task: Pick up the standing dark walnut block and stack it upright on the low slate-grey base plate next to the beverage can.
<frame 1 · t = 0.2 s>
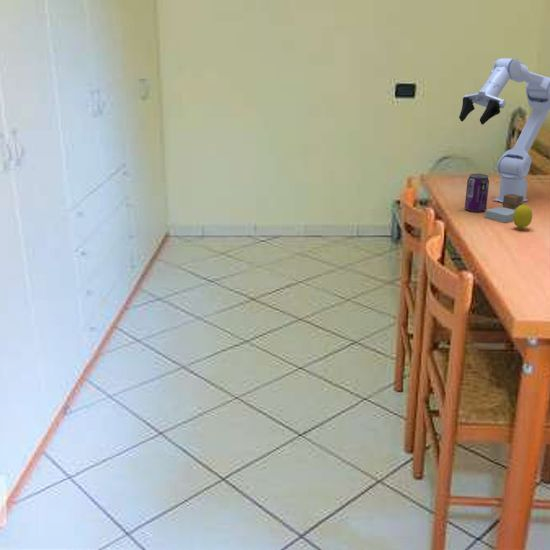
hand: (470, 120, 216), 31 cm above the table, tool tilted 45°, fingers open, 7 cm apart
grey base: (502, 218, 222), on the table
walnut block: (511, 213, 228), on the table
lemon: (520, 229, 210), on the table
beverage can: (475, 210, 232), on the table
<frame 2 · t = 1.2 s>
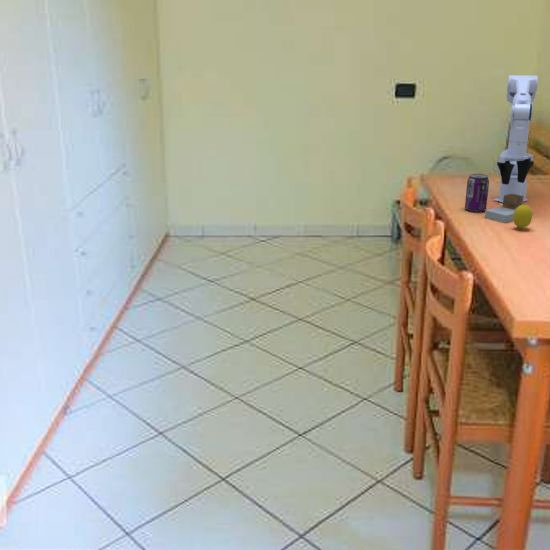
hand: (513, 183, 223), 10 cm above the table, tool pointing down, fingers open, 7 cm apart
nothing on the table moved.
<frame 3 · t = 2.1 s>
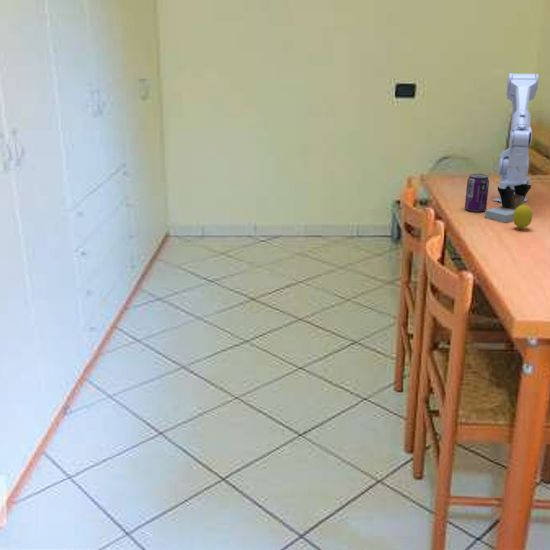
hand: (512, 207, 227), 2 cm above the table, tool pointing down, fingers open, 7 cm apart
nothing on the table moved.
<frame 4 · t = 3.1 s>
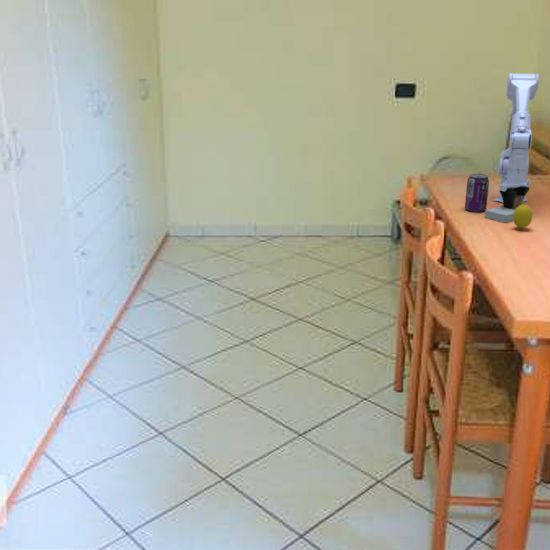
hand: (512, 208, 227), 1 cm above the table, tool pointing down, fingers closed on walnut block, 4 cm apart
walnut block: (511, 213, 228), on the table, touching gripper
everything else where it was.
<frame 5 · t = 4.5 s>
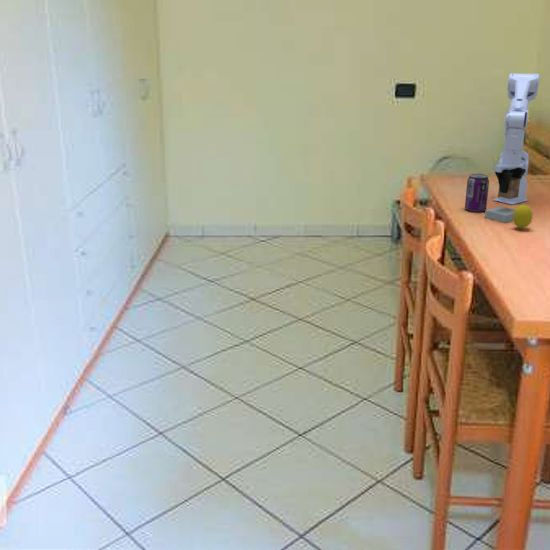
hand: (508, 191, 220), 9 cm above the table, tool pointing down, fingers closed on walnut block, 4 cm apart
walnut block: (507, 196, 221), point 7 cm above the table, touching gripper
everything else where it was.
when the fingers open (5 cm above the table, at t = 6.1 s): walnut block stays where it is, resting on grey base.
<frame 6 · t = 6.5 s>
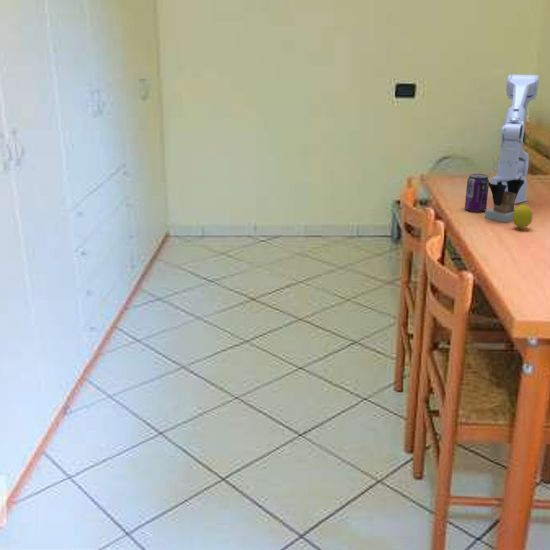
hand: (504, 203, 220), 5 cm above the table, tool pointing down, fingers open, 7 cm apart
walnut block: (503, 210, 221), point 2 cm above the table, touching grey base
everything else where it was.
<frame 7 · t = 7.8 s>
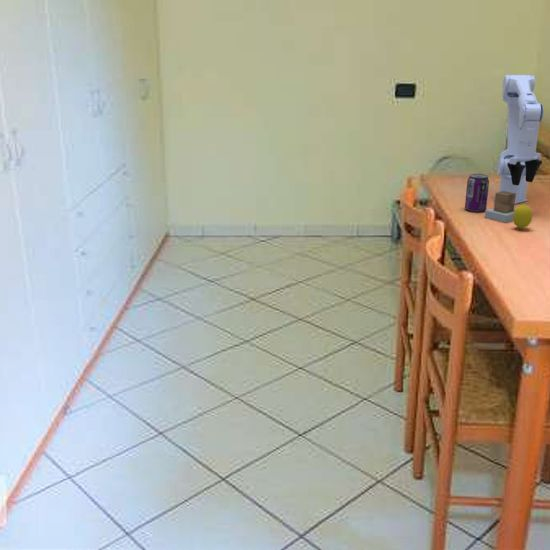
hand: (522, 183, 223), 10 cm above the table, tool pointing down, fingers open, 7 cm apart
nothing on the table moved.
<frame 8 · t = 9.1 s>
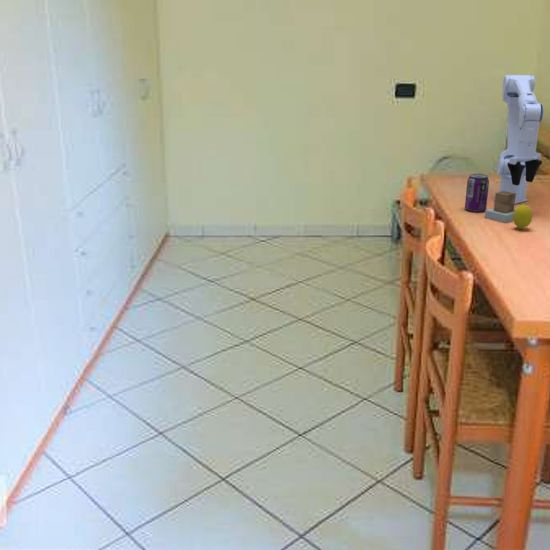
hand: (522, 183, 223), 10 cm above the table, tool pointing down, fingers open, 7 cm apart
nothing on the table moved.
at the end: walnut block 0.2 cm off-centre on the grey base, point 2.5 cm above the grey base's base; walnut block tilted 0°; the gripper is holding nothing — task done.
